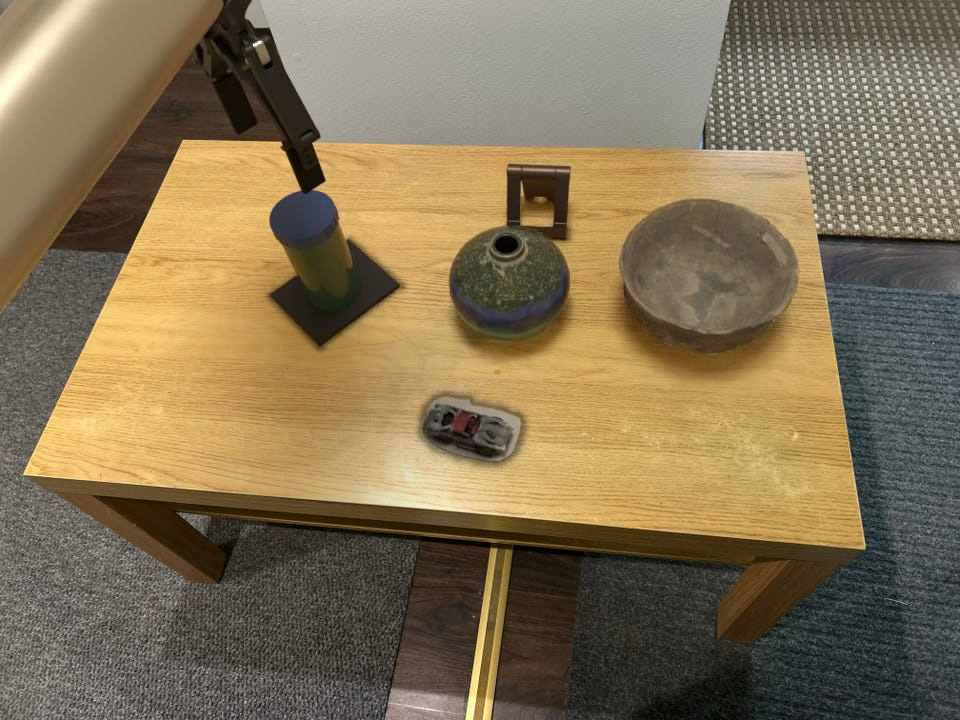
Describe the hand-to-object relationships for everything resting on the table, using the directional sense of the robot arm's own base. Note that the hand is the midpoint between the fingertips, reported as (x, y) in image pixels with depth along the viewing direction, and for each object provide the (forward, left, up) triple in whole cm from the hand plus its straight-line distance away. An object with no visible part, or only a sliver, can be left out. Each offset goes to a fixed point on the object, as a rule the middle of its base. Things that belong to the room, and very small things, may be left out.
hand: (279, 156), depth 76 cm
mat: (0, 0, -25) cm, 25 cm away
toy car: (-1, -29, -25) cm, 38 cm away
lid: (0, 0, -9) cm, 9 cm away
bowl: (+31, -37, -25) cm, 54 cm away
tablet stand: (+29, -11, -25) cm, 40 cm away
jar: (0, 0, -24) cm, 24 cm away
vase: (+15, -20, -25) cm, 35 cm away
